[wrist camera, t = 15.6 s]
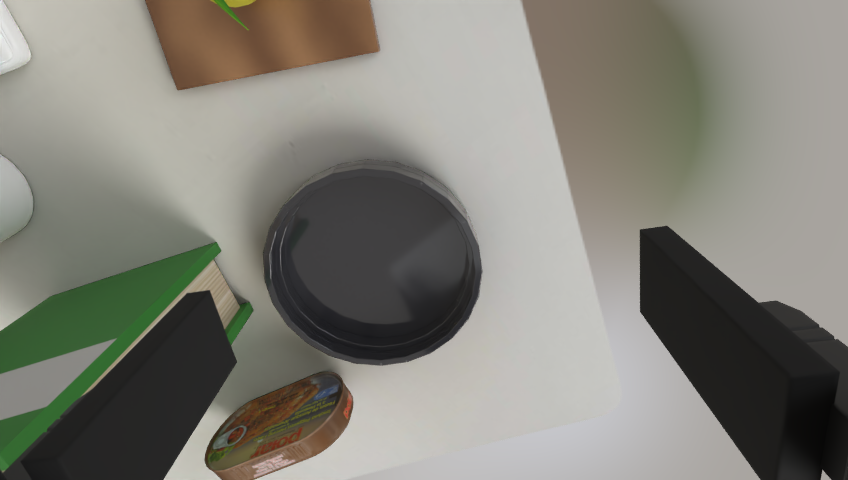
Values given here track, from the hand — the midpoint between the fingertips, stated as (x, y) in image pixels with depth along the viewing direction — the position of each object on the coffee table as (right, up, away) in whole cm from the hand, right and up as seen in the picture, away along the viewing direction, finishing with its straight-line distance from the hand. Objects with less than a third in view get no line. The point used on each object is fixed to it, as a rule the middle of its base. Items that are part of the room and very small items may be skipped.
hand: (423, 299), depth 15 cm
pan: (-4, 0, +29) cm, 30 cm away
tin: (-14, -14, +36) cm, 41 cm away
